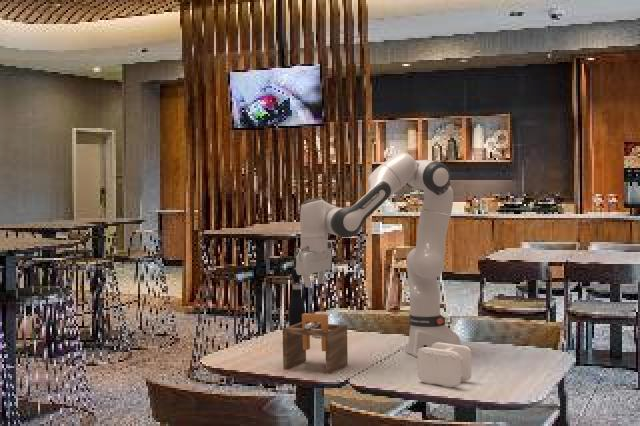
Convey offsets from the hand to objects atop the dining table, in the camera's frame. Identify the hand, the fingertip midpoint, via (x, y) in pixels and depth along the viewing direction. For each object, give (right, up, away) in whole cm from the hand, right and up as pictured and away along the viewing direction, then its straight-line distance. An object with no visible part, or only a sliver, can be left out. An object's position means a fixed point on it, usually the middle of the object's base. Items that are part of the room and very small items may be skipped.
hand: (314, 285), depth 286 cm
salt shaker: (+2, -26, +55) cm, 61 cm away
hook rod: (0, -15, +1) cm, 15 cm away
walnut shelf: (0, -29, +1) cm, 29 cm away
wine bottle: (-7, -27, +38) cm, 47 cm away
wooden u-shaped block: (0, -23, +1) cm, 23 cm away
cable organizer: (+42, -29, -23) cm, 56 cm away
